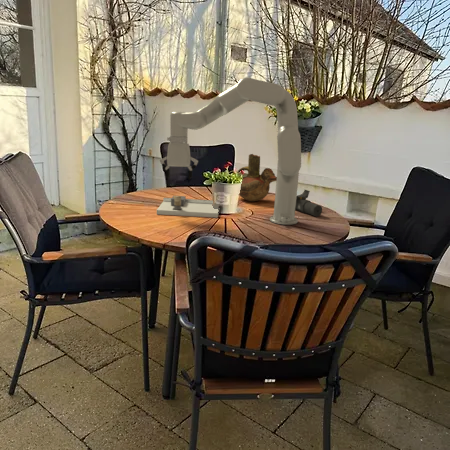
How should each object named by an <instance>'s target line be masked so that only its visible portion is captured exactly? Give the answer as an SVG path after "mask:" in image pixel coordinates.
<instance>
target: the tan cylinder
mask: <svg viewBox="0 0 450 450" xmlns="http://www.w3.org/2000/svg"><path fill="white" fill-rule="evenodd" d="M174 196H175V199H174V210H181V196H182V195H174Z"/></svg>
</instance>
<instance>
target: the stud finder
mask: <svg viewBox="0 0 450 450" xmlns="http://www.w3.org/2000/svg"><path fill="white" fill-rule="evenodd" d="M175 196H176V195H173V196H172V197H170V198H171V205H174V199H175ZM180 196H181V206H184V204H185V201H186V199H187V198H186V196H184V195H180Z"/></svg>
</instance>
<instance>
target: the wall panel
mask: <svg viewBox="0 0 450 450" xmlns="http://www.w3.org/2000/svg"><path fill="white" fill-rule="evenodd" d="M171 198H172V197H163V201H162V202H161V204H160V205H159V206H158V208H156V215H161V216H163V215H164V216H165V215H166V216H182V217H197V218H198V217H199V218H200V217H201V218H218V217H219V213H218V212H220V209H219V210H218V209H214V208H213V206H212V204H213V199H209V200H208V199H195V198H194V199H193V198H186V201H185V204H184V206H181V210H174V205H171Z"/></svg>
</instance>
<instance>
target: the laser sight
mask: <svg viewBox="0 0 450 450" xmlns="http://www.w3.org/2000/svg"><path fill="white" fill-rule="evenodd" d="M310 192H311V191H310V190H309V189H308V190H307V189H304V191H303V192H302V194H299V195H297V197H296V207H295V211H297V212H301V213H303V214H308V215H310V216H311V215H312V216H314V217H319V216H321V214H322V212H323V207H322V205H319V204H317V203H314V202H312V201H310V200H308V198H309V195H310Z"/></svg>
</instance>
